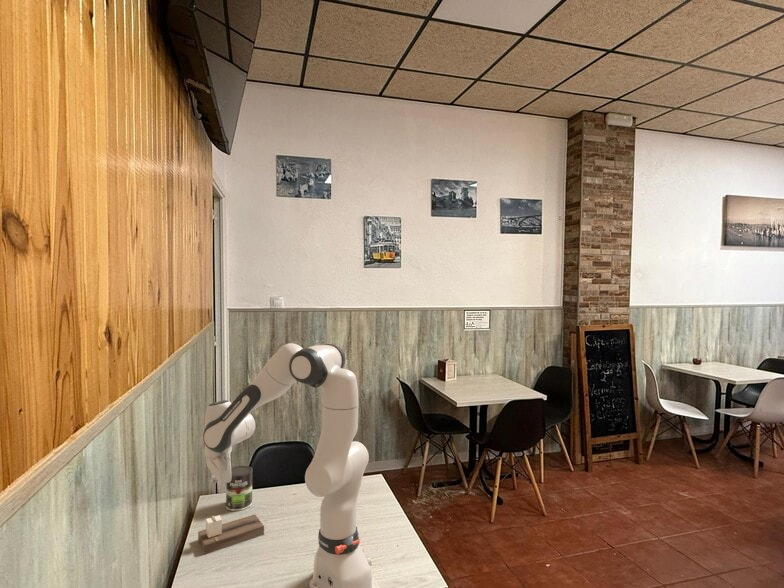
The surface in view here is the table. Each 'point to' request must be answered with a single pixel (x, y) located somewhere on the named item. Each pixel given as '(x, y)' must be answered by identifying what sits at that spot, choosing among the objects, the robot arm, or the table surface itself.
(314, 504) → the table surface
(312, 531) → the table surface
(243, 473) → the coffee can
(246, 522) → the brown slider board
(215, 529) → the fader tab
